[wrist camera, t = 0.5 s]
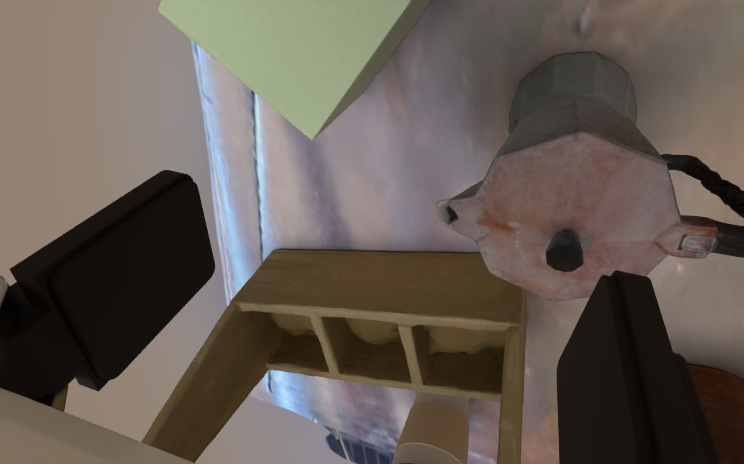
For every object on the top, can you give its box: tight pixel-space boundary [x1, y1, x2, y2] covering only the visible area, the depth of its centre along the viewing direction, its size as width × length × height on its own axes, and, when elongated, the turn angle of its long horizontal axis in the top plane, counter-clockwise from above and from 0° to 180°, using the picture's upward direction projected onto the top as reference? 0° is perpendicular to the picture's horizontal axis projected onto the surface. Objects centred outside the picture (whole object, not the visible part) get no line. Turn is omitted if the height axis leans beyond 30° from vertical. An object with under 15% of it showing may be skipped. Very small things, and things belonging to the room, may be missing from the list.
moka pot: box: [435, 52, 744, 301], centre depth 25 cm, size 10×15×20 cm, turn 101°
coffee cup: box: [392, 391, 470, 464], centre depth 52 cm, size 9×9×15 cm
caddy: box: [142, 250, 526, 464], centre depth 38 cm, size 29×11×30 cm, turn 103°
